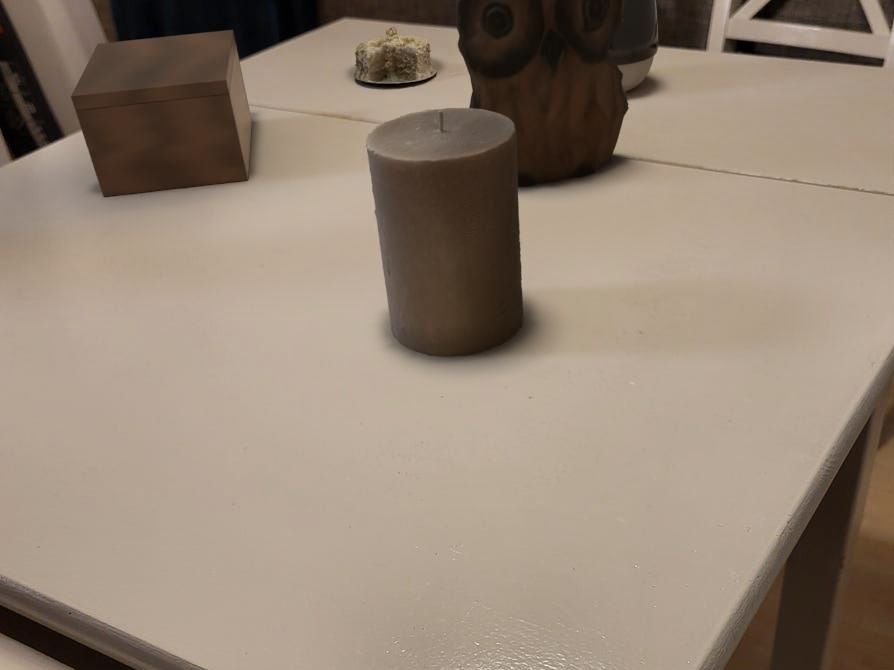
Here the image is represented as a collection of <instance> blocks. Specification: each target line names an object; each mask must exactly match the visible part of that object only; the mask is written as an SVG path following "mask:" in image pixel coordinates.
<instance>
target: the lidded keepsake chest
mask: <svg viewBox="0 0 894 670" xmlns="http://www.w3.org/2000/svg"><path fill="white" fill-rule="evenodd" d="M247 95H248V94H247V92H246V86H245V82H244V75H243V72H242V67H241V61H240V56H239V52H238V46H237V42H236V37H235V32H234V29H229V30H227V29H226V30H217V31H207V32H199V33H197V32H196V33H189V34H187V33H186V34H178V35H169V36H159V37H150V38H142V39H139V38H138V39H131V40H122V41H121V40H120V41H112V42H111V41H110V42H102V43H101V42H100V43H97V44H96V46H95V48H94V50H93V52H92V54H91V56H90V58H89V60H88V61H87V64H86V66H85V68H84V69H83V72H82V73H81V76H80V77H79V79H78V82H77V83H76V85H75V87H74V89H73V91H72V93H71V95H70V98H71V102H72V104H73V109H74V110H75V114H76V117H77V121H78V123H79V126H80V129H81V132H82V135H83V138H84V141H85V145H86V148H87V151H88V154H89V157H90V161H91V163H92V166H93V168H94V172H95V175H96V178H97V182H98V185H99V188H100V191H101V194H102V196H103V197H104V198H105V197H113V196H123V195H128V194H130V195H131V194H139V193H147V192H157V191H165V190H175V189H183V188H190V187H191V188H192V187H200V186H201V187H202V186H208V185H217V184H226V183H234V182H243V181H244V182H245V181H248V180H249V172H250V171H249V170H250V155H251V153H250V152H251V139H252V123H253V120H252V115H251V110H250V105H249V100H248V96H247Z"/></svg>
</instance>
